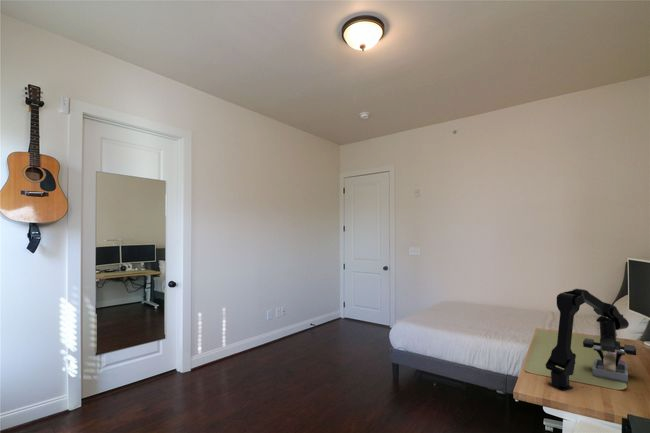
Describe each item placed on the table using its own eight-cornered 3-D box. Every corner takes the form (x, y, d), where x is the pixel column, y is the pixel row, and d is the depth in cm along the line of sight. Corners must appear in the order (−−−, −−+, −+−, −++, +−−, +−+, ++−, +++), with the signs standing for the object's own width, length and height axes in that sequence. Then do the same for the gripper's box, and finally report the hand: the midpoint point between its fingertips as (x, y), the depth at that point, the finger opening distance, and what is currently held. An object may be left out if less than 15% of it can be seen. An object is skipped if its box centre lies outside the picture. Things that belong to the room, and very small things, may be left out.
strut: (604, 371, 152) (603, 359, 152) (605, 362, 160) (604, 352, 161) (615, 373, 149) (614, 362, 149) (616, 364, 158) (615, 354, 158)
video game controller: (611, 361, 172) (603, 348, 174) (621, 358, 170) (613, 345, 172) (617, 368, 164) (608, 354, 165) (628, 365, 162) (618, 351, 163)
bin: (628, 383, 145) (627, 375, 145) (592, 376, 153) (592, 368, 153) (628, 371, 156) (627, 364, 156) (595, 365, 164) (594, 358, 164)
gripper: (580, 331, 156) (583, 365, 155) (635, 339, 143) (638, 376, 143) (583, 326, 164) (585, 358, 163) (634, 333, 151) (637, 368, 151)
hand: (610, 365), depth 155 cm, fingers closed on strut, 4 cm apart
